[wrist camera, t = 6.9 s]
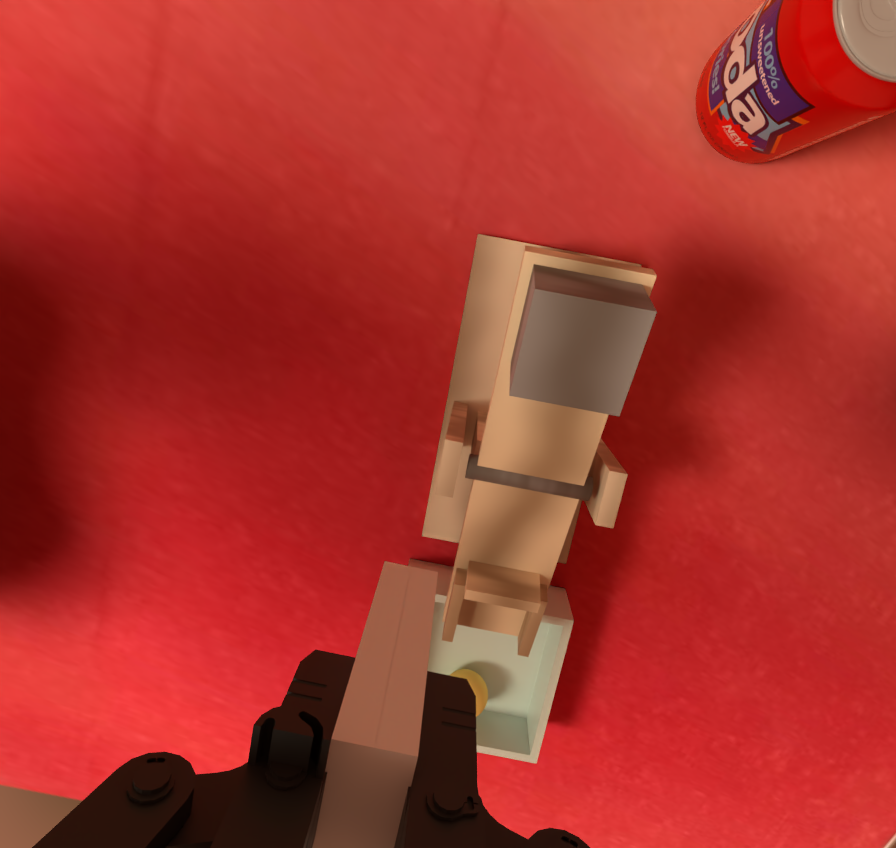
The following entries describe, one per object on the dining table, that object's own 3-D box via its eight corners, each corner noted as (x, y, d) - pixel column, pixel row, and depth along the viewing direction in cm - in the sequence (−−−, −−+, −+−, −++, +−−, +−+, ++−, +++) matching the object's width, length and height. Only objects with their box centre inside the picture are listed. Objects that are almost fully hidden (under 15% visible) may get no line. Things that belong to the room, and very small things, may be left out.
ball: (444, 664, 49) (436, 713, 47) (447, 664, 45) (438, 717, 44) (488, 673, 49) (481, 722, 47) (494, 674, 45) (486, 726, 44)
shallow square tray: (385, 691, 49) (376, 732, 45) (409, 558, 46) (402, 587, 42) (531, 720, 49) (536, 763, 45) (565, 588, 46) (573, 620, 42)
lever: (436, 607, 41) (427, 666, 37) (514, 242, 28) (513, 272, 24) (537, 626, 41) (538, 687, 37) (662, 270, 28) (685, 304, 24)
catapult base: (422, 531, 46) (404, 610, 35) (477, 234, 41) (476, 218, 30) (564, 559, 46) (590, 646, 35) (638, 264, 40) (696, 259, 30)
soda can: (808, 167, 39) (1006, 100, 24) (683, 166, 39) (804, 99, 24) (828, 29, 37) (1056, -135, 22) (697, 29, 37) (836, -131, 22)
